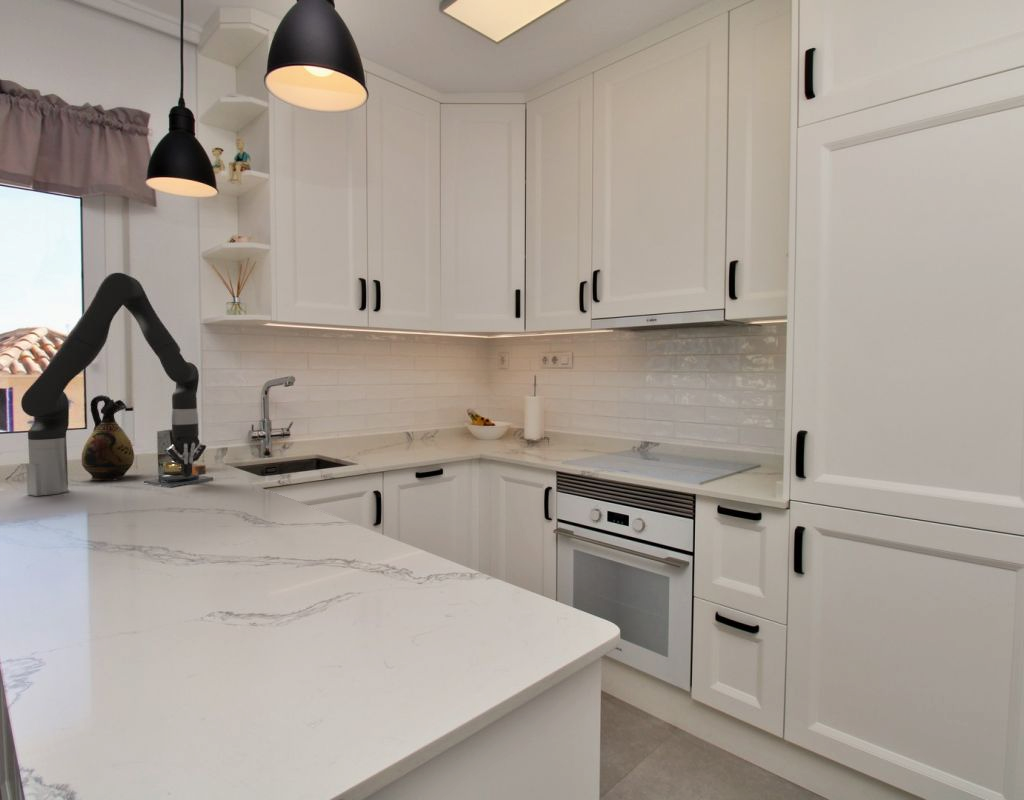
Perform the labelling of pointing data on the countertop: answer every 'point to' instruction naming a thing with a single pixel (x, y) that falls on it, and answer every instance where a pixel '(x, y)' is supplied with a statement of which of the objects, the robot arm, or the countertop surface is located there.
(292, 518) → the countertop surface
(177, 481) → the housing
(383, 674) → the countertop surface
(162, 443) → the coffee box
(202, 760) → the countertop surface
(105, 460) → the ceramic jug
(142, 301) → the robot arm
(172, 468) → the rotary lever handle
